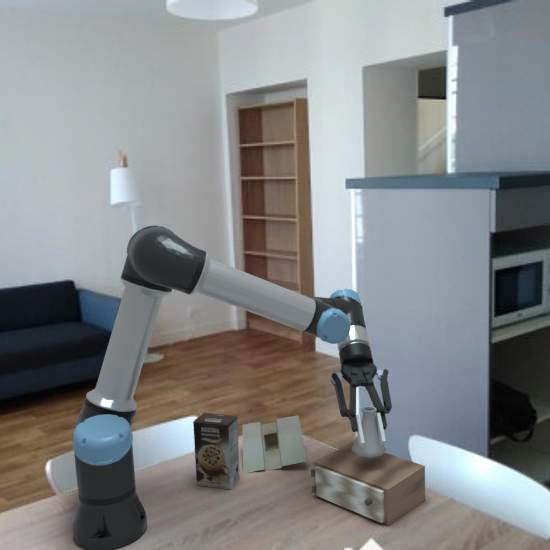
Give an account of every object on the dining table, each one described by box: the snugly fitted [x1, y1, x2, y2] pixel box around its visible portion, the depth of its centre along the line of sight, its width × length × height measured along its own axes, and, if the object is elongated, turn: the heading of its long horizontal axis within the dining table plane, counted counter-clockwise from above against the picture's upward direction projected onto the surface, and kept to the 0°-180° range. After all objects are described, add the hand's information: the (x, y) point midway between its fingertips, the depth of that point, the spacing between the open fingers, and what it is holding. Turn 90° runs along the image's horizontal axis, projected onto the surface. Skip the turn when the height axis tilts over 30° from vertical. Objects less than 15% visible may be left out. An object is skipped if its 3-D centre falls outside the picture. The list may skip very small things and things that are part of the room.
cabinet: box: [310, 441, 426, 527], centre depth 145 cm, size 20×16×8 cm
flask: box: [351, 405, 387, 458], centre depth 144 cm, size 7×7×10 cm
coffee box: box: [192, 412, 241, 490], centre depth 155 cm, size 9×6×16 cm
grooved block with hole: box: [241, 415, 308, 473], centre depth 168 cm, size 16×9×15 cm
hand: (372, 444), depth 140 cm, fingers closed on flask, 4 cm apart
